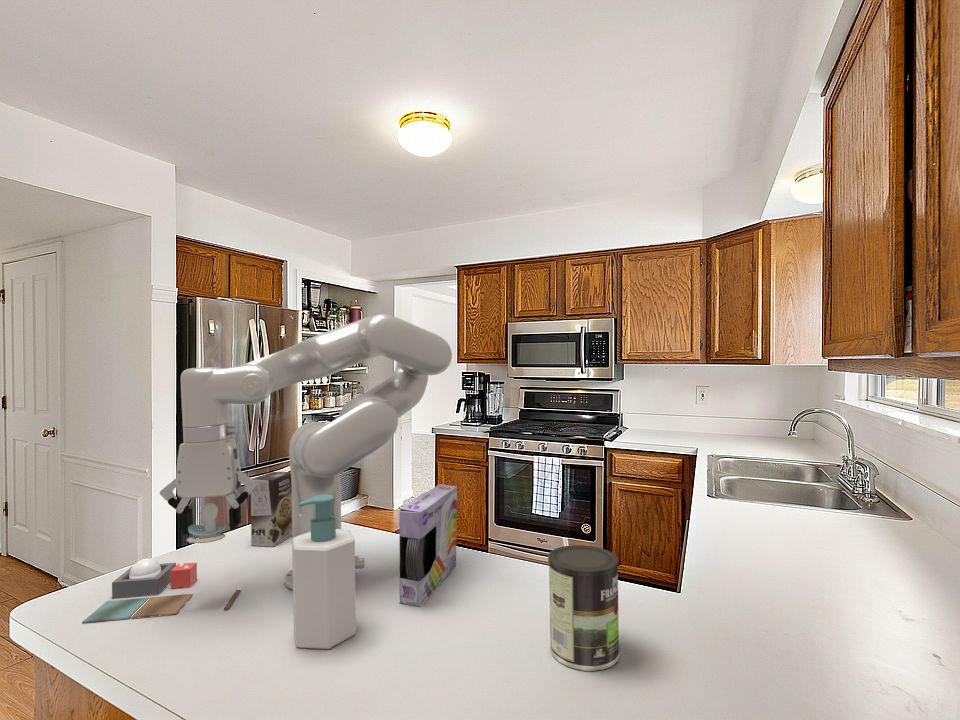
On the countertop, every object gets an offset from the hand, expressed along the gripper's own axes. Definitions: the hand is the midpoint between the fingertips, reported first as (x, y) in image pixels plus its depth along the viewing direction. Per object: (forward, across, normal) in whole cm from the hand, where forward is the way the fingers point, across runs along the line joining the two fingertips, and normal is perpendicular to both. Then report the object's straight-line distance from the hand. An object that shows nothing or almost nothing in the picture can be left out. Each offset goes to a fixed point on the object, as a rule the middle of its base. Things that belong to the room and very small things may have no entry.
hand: (211, 529), depth 94 cm
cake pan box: (+15, -39, +2) cm, 42 cm away
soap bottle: (+14, -22, +16) cm, 30 cm away
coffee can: (+15, -60, +29) cm, 69 cm away
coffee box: (+14, -4, -32) cm, 35 cm away
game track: (+13, +8, 0) cm, 16 cm away
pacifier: (+1, 0, +2) cm, 2 cm away
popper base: (+13, +13, -9) cm, 21 cm away
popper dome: (+13, +16, -9) cm, 22 cm away
